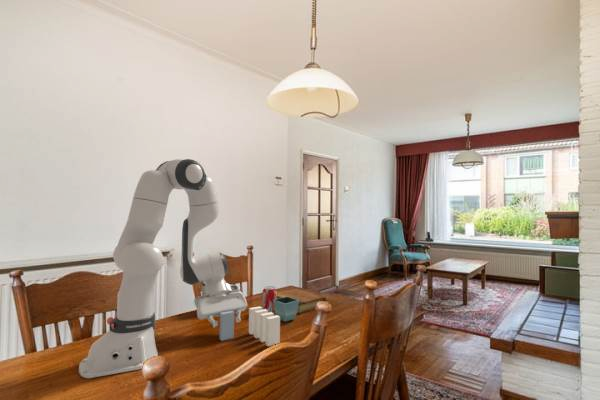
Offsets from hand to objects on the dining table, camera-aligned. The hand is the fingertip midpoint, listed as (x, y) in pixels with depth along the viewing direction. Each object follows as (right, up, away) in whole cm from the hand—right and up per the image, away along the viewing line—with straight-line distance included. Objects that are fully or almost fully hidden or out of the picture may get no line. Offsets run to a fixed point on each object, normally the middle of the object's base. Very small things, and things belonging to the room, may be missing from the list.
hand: (227, 323), depth 125 cm
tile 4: (+18, -6, -4) cm, 19 cm away
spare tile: (0, -6, 0) cm, 6 cm away
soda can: (+13, -7, +32) cm, 36 cm away
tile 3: (+15, -6, -1) cm, 16 cm away
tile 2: (+13, -6, +3) cm, 14 cm away
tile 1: (+10, -6, +6) cm, 13 cm away
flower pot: (+22, -7, +23) cm, 32 cm away
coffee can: (-15, -7, +34) cm, 38 cm away
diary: (+27, -8, +45) cm, 53 cm away
